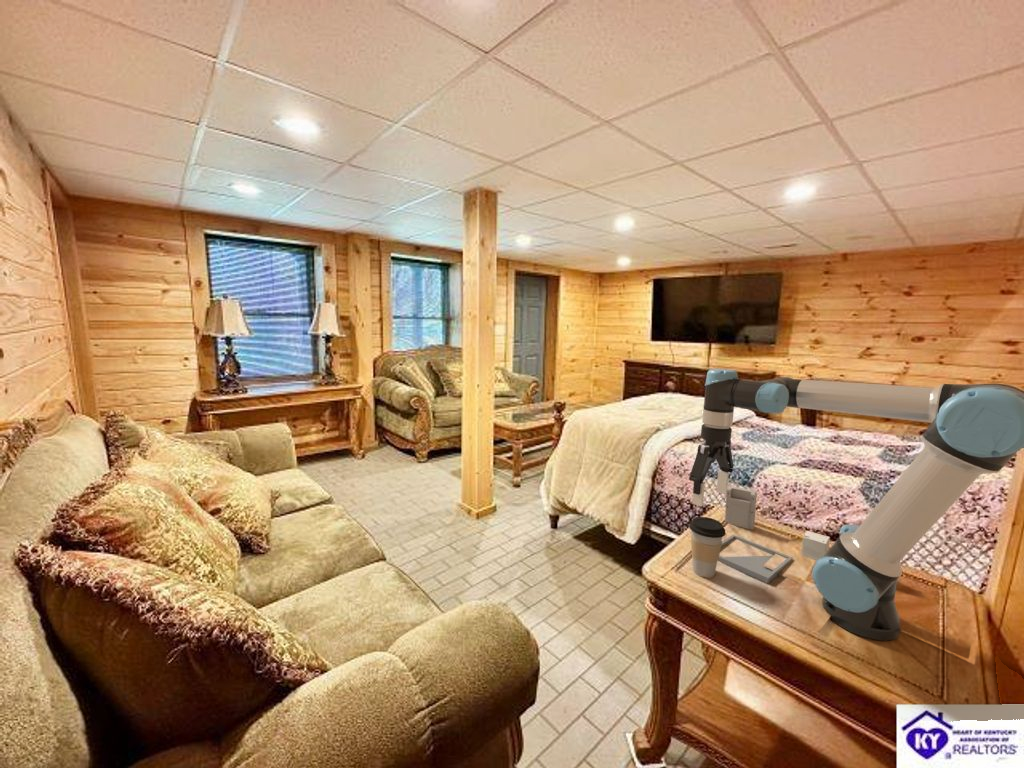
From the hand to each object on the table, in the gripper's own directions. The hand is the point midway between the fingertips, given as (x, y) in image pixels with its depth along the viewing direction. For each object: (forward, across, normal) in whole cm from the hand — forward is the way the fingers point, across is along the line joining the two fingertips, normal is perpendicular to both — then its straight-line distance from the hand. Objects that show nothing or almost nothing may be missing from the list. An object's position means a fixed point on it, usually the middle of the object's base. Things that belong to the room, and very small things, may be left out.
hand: (709, 498), depth 122 cm
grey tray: (+22, -17, +5) cm, 28 cm away
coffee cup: (+22, 0, 0) cm, 22 cm away
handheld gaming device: (+22, -35, -6) cm, 42 cm away
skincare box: (+22, -34, +17) cm, 44 cm away
